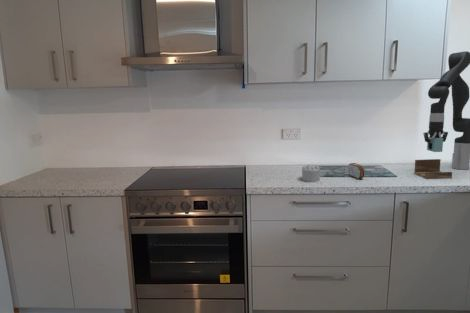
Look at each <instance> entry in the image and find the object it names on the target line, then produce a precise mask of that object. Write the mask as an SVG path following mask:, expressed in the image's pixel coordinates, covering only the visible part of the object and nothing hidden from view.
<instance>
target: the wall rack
mask: <svg viewBox="0 0 470 313" xmlns="http://www.w3.org/2000/svg"><path fill="white" fill-rule="evenodd" d="M441 160H442V159H441V158H440V159H439V158H432V159H414V172H413V174H414V175H416V176H419V177H420V178H423V179H425V180H434V179H435V180H437V179H452V178H453V172H451V171H441V170H440V169H441Z"/></svg>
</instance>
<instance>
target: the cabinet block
mask: <svg viewBox="0 0 470 313" xmlns="http://www.w3.org/2000/svg"><path fill="white" fill-rule="evenodd" d="M428 138H429V136H428ZM426 143H427V144H426V150H427V151H430V152H432V153H433V152H434V153H442V152H443V146H444V142H443V138H433V142H432V149H429V148H428V142H426Z"/></svg>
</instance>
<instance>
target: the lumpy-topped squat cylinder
mask: <svg viewBox="0 0 470 313" xmlns="http://www.w3.org/2000/svg"><path fill="white" fill-rule="evenodd" d="M301 170H302V172H301V180H302V181H304V182H306V183H318V182H319V180H321V177H320V176H321V174H320V173H321V169H320V167H319V165H315V164H306V165H303V166H302V167H301ZM317 181H318V182H317Z"/></svg>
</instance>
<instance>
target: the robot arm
mask: <svg viewBox="0 0 470 313" xmlns="http://www.w3.org/2000/svg"><path fill="white" fill-rule="evenodd" d="M447 60H448V62H447V63H448V70H447V71H445V72H444V73H443V74H442V76H441V77H440V78H439V80H438V81H437V82H435V83H434V84H433V85H432V86H431V87H429V89H428V92H427V96H428V97H429V98H430V99H433V100H436V99H438V101H437V102H433V103H431V104H430V113H429V121H428V130H427V131H426V132H423V133H422V134H423V138H424V142H426V143H427V142H428V148H429V149H432V142H433V138H443V143H444V142H446V141H447V138H448V135H449V132H448V131H444V126H445V106H446V103H447V100H448V98H449V95H450V88H451V100H452V130H453V131H454V132H457V133H462V135H461V136H459V137H456V138H454V142H453V143H454V144H453V145H454V146H453V153H452V159H451V168H452V169H455V170H463V171H464V170H465V171H466V170H469V169H470V117H468V118H467V117H463V110H464V108H465V106H466V105H467V103H468V101H469V100H470V87H469V85H468V83H467V82H466V81H465V79H463V78H462V76H461V75H460V74H462V73H463V72H464V71H465V70H466V69H467V68H468V66H469V65H470V51H460V52H453V53H450V54H449V56H448V59H447ZM428 137H429V138H428Z"/></svg>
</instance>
